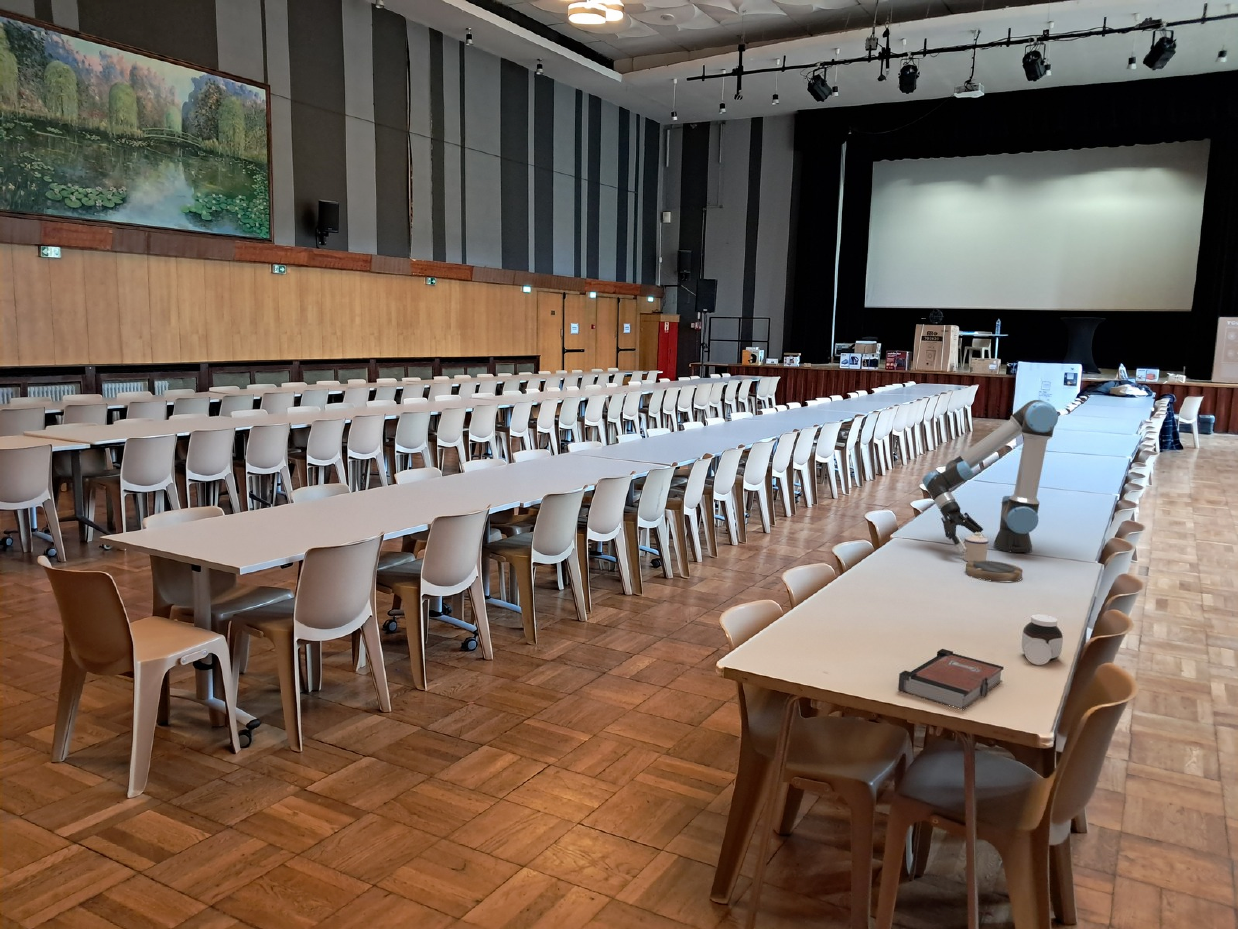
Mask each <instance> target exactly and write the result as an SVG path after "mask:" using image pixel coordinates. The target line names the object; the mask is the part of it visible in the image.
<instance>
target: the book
mask: <svg viewBox="0 0 1238 929" xmlns="http://www.w3.org/2000/svg"><path fill="white" fill-rule="evenodd" d="M1004 669H1005V668H1004V666H1002V665H999V664H994V663H992V662H991V663H990V662H987V661H984V660H979V659H977V658H973V657H969V656H965V655H962V654H957V653H954V651H953V650H948V649H945V648H941V649H939V650H938V651H936V656H935V657H933V658H931V659H930V660H928V661H926V662H924V663H923V664H921V665H919V666H918V667H916V668H914V669H913V670H911V671H910V670H906V669H905V670H903V671H902V672H900V673H899V675H898V687H897V691H898V690H899V692H901V691H903V692H902V693H904V692H905V693H904V694H908V695H910V696H911V695H912V696H914V695H915V697H918V698H920V699H924V698H925V699H924V700H927V701H930V700H931V701H932V702H934V703H937V702H938V704H940V703H942V704H941V705H943V704H944V705H943V706H946V705H950V706H954V707H956V708H959V709H962V710H961V711H964V710H965V709H967V708H968V707H970V705H972V704H974V703H975V702H976V701H977V699H978V700H979V699H981V698H982V697H986V696H987V695H988V691H989V692H990V691H991V690H993V689H994V688H996V687H997V686H998V685H999V684H1001V683H1002V682H1003V680H1002V679H1001V675H1002V671H1003V670H1004ZM1001 681H1002V682H1001ZM1000 682H1001V683H1000ZM997 684H998V685H997ZM996 685H997V686H996ZM992 688H993V689H992ZM973 702H974V703H973ZM950 706H949V707H950ZM966 707H967V708H966ZM956 708H955V709H956ZM964 708H965V709H964ZM959 709H958V710H959ZM963 709H964V710H963Z"/></svg>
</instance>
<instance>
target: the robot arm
mask: <svg viewBox="0 0 1238 929" xmlns="http://www.w3.org/2000/svg"><path fill="white" fill-rule="evenodd" d="M1009 418H1010V419H1008V420H1007V421H1006V422H1004V423H1003V424H1002V425H1000V426H998V427H997V428H996V429H995V430H993V431H992V432H991V433H990V434H988V435H986V436H985V437H984V438H982V439H981V440H979V441H978V442H976V443H975V444H974V445H972V446H971V447H970V448H968V449H967V450H966V451H964V452H963V453H961V454H960V455H959V456H957V457H955V458H954V459H952V460H949V461H948V462H947V463H946V465H945V468H944V469H945V470H944V471H942V472H941V473H939V472H938V471H935V470H934V471H931V472H929V473H927V474H925V475H924V476H923V478H922V483H923V485H924V487H925V489H926V491H927V492H928V494H929V495H930V497H931V498H932V500H933V502H934V503H935V505H936V507H938V509H939V511H940V514H941V515H942V517H941V518H940V520H941V521H942V524H943V531H944V533H945V534H944V535H945V537H946V538H947V539H949V540H950V541H951V540H952V542H953V543H954V545H956V548H957V547H958V549H959V551H960V552H964V550H965V549H966V547H965V543H962V541H963V540H961V538H960V536H959V535H958V534H957V526H961V527H964V528H966V530H968V531H970V532H972V534H974V533H975V532H978V533H980V535H981V536H982V537H984V535H983V533H982V531H984V528H983V527H982V526H981V525H979V524H978V522H976V521H975V520H974V519H973V518H972V517H971V516H970V515H969V513H968V512H965V513H962V512H961V507H960V504H958V501H956V498H955V496H954V495H953V494H952V492H951V490H950V489H953V488H954V487H956V486H958V485H959V484H962V483H963V482H965V481H966V480H969V479H971V478H972V477H974V475H975V473H974V471H973V470H972V469H974V468H975V467H977V466H978V465H980V464H981V463H982V462H984V461H985V460H986V459H988V458H989V457H991V456H992V455H993V454H995V453H996V452H997V451H999V450H1001V449H1002V448H1003V447H1005V446H1006V445H1008V444H1009V443H1011V442H1012V441H1014V440H1015V439H1017V438H1018V437H1020V435H1023V443H1022V447H1021V448H1022V449H1021V453H1020V454H1021V455H1020V459H1019V463H1018V464H1019V465H1018V470H1017V476H1016V481H1015V487H1014V491H1013V494H1012V495H1004V496H1003V497H1002V499H1001V509H1000V510H1001V512H1000V522H999V529H998V532H997V535H996V537H995V540H994V541H993V548H994V549H995V550H998V549H999V551H1001V550H1003V551H1002V552H1006V551H1011V552H1010V553H1013V552H1029V553H1031V552H1030V551H1032V552H1033V544H1032V539H1031V536H1030V533H1031V532H1033V531H1034V530H1035V529H1036V528H1037V526H1038V524H1039V515H1038V514H1039V508H1040V501H1039V500H1038V498H1037V496H1038V492H1039V491H1038V490H1039V488H1040V487H1039V486H1040V482H1041V481H1040V480H1041V475H1042V471H1043V470H1042V469H1043V465H1044V460H1045V454H1046V449H1047V444H1048V441H1049V440H1050V439H1052V438H1053V434H1054V429H1055V427H1056V425H1057V423H1058V420H1059V414H1058V412H1057V409H1056V407H1055V406H1054V405H1053V404H1051V403H1050V402H1047V401H1044V400H1041V399H1040V400H1039V399H1034V400H1033V399H1032V400H1031V401H1029V402H1027V403H1025V404H1024V405H1023V406H1021V408H1019V409H1017V411H1015V412H1014V413H1013V414H1012V415H1010V417H1009ZM984 538H985V537H984ZM988 547H989V544H988ZM959 551H958V552H959ZM960 552H959V553H960Z"/></svg>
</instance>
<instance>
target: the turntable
mask: <svg viewBox="0 0 1238 929" xmlns="http://www.w3.org/2000/svg"><path fill="white" fill-rule="evenodd" d="M1023 571H1024V570H1023V569H1022V568H1021V567H1019V566H1018V565H1014V564H1010V563H1006V562H1000V561H996V560H995V561H993V560H986V561H971V562H967V563H966V564H965V571H964V572H965V574H966V575H968V576H969V575H970V576H969V577H971V576H972V578H975V579H977V578H981V579H985V580H984V581H986V580H991V581H990V582H993V581H1017V582H1019V581H1018V580H1020V579H1021V578H1022V579H1023V573H1024V572H1023ZM981 579H980V580H981ZM1022 579H1021V580H1022ZM1021 580H1020V581H1021Z"/></svg>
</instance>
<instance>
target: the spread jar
mask: <svg viewBox="0 0 1238 929" xmlns="http://www.w3.org/2000/svg"><path fill="white" fill-rule="evenodd" d="M1058 621H1059V620H1058V619H1057V618H1056V617H1054V616H1050V615H1047V614H1039V613H1038V614H1033V615H1031V616H1030V622H1029V623H1027V624H1026V625H1025V626H1024V628H1023V630H1022V633H1021V649H1022V651H1023V653H1024V655H1025V658H1026V659H1027V660H1028V661H1029V662H1030V663H1032V664H1033V665H1036V666H1037V665H1038V666H1041V665H1042V666H1043V665H1044V664H1047V663H1048V661H1050V662H1053V661H1055V660H1057V659H1059V657H1060V656H1061V655H1062V651H1063V650H1062V649H1063V643H1064V641H1063V640H1064V638H1063V636H1064V635H1063V632H1062V630H1061V629H1060V628H1059V627H1058Z"/></svg>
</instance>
